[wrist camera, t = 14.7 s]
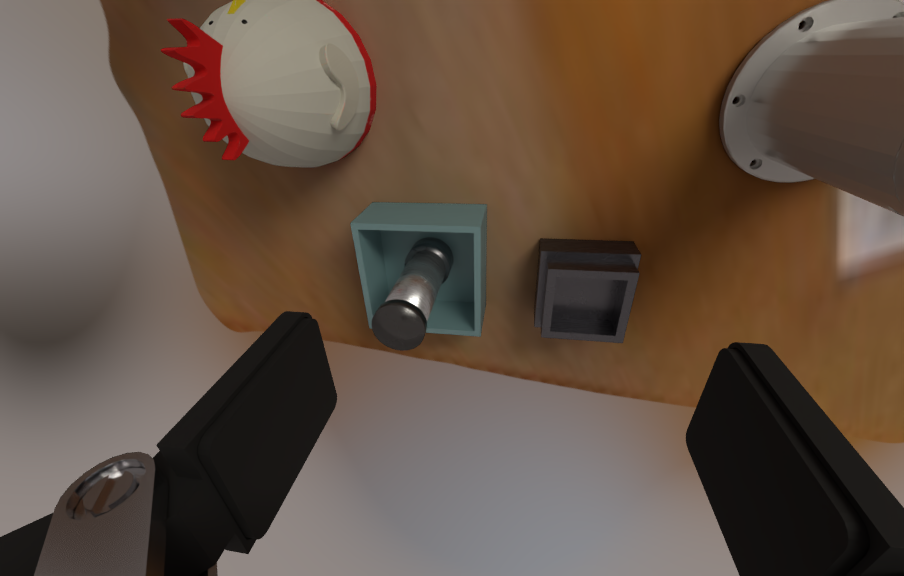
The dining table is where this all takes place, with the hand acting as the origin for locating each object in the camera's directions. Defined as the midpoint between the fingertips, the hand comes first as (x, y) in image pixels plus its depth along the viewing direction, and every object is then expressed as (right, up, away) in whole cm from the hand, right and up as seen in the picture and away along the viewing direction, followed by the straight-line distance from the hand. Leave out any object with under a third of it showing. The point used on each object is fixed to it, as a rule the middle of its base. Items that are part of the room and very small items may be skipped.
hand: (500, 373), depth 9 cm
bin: (-3, +6, +33) cm, 34 cm away
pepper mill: (-3, +5, +33) cm, 33 cm away
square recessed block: (+12, +3, +32) cm, 34 cm away
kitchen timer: (-15, +21, +27) cm, 37 cm away
